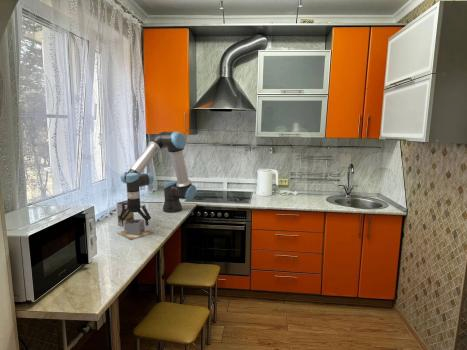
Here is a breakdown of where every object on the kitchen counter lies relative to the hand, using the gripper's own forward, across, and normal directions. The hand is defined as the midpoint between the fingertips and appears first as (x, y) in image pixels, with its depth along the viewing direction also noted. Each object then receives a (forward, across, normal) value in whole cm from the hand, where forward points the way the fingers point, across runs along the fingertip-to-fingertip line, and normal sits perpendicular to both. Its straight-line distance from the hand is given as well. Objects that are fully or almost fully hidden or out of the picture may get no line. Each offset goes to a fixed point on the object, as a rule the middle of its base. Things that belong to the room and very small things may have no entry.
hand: (135, 230), depth 204 cm
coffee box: (+2, -13, +17) cm, 22 cm away
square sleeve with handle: (+1, 0, +3) cm, 3 cm away
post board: (+2, 0, 0) cm, 2 cm away
